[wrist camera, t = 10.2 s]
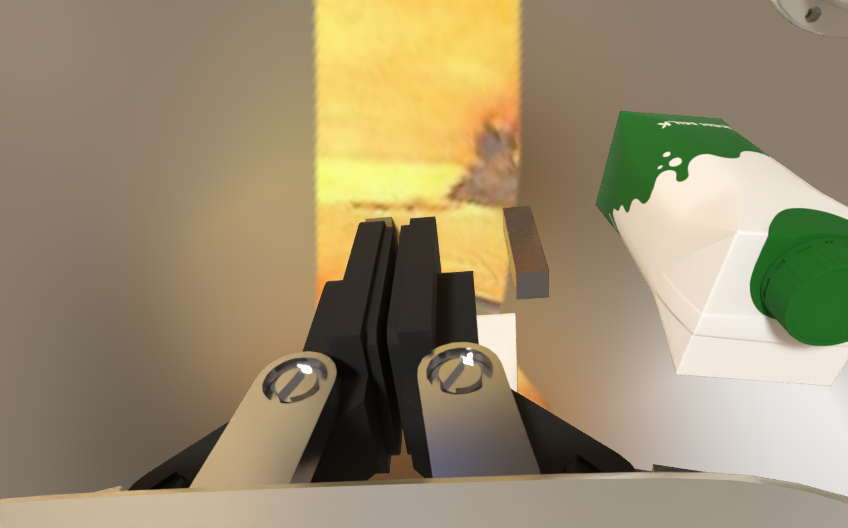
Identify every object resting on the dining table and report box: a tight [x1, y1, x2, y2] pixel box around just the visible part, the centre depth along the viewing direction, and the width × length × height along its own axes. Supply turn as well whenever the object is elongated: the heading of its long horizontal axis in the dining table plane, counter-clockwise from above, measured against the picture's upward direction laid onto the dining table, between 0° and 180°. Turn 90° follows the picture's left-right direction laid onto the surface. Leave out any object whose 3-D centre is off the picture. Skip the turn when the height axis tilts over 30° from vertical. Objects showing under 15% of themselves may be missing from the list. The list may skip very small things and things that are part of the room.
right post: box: [503, 206, 549, 299], centre depth 38 cm, size 2×2×9 cm
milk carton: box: [596, 111, 848, 386], centre depth 31 cm, size 9×9×20 cm
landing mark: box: [477, 313, 517, 392], centre depth 49 cm, size 10×10×1 cm
